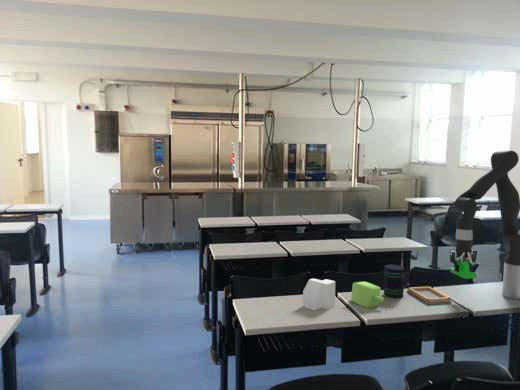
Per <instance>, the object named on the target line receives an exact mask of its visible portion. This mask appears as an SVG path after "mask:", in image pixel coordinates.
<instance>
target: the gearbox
mask: <svg viewBox="0 0 520 390" xmlns="http://www.w3.org/2000/svg"><path fill="white" fill-rule="evenodd" d="M381 289H382V288H381V287H380V286H378V285H375V284H373V283H372V282H371V283H370V282H367V281H358V282H357V281H356V282H353V283H352V289H351V301H352V302H353V303H355V304H357V305H359V306H362V307H364V308H367V309H369V308H373V307H376V306H377V307H378V306H380V302H381V303H384V298H385V296H384V297H383V296H381Z"/></svg>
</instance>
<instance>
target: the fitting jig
mask: <svg viewBox="0 0 520 390" xmlns="http://www.w3.org/2000/svg"><path fill="white" fill-rule="evenodd" d="M406 292H407V293H408V294H411V295H412V296H413V297H415V298H416V299H419V300H421V302H423V303H425V304H426V305H428V306H434V305H436V306H437V305H449V304H451V305H452V301H451V297H450V296H447V295H446V294H444V293H443V292H440V291H438V290H436V289H435V288H433V287H431V286H429V285H428V286H416V287H413V286H412V287H408V288H407V290H406Z"/></svg>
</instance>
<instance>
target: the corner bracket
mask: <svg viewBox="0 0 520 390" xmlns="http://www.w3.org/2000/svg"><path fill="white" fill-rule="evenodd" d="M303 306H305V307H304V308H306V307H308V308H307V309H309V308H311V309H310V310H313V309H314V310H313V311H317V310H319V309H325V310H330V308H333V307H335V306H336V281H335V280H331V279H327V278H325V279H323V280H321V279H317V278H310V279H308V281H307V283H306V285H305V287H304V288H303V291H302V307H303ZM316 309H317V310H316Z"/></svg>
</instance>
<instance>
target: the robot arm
mask: <svg viewBox="0 0 520 390" xmlns="http://www.w3.org/2000/svg"><path fill="white" fill-rule="evenodd" d="M519 159H520V158H519V154H518V153H517V152H516V151H514V150H496V151H494V152H493V153H492V154H491V157H490V165H491V170H490V171H488V172H487V173H485V174H483V175H482V176H480V177H479V178H478V179H477V180H476V181H475V182H474V183H473V184H472V185H471V186H470V187H469V189H468V190H466V191H464V192H462V194H460V195H459V196H458V197H457V198H456V199H455V200H454V209H455V210H456V211H458V212H460V213H462V216H459V217H457V219H456V231H455V241H454V242H455V244H454V245H455V250H450V251H449V261H450V263H452V264H453V268H454V270H455V271H456V272H459V265H458V264H459V262H460V261H463V259H465V261H467V262H468V264H469V271H471V272H472V269H473V268H472V266H473V265H472V264H473V263H476V262H477V261H476V260H477V256H478V250H476V249H473V236H474V233H473V223H474V222H473V221H474V219H475V216H476V213H477V210H478V203H477V202H476V201H477V200H482V198H483V197H484V196H485V195H486V194H487V192H489V190H490V189H491V188H492V187H493V186H494V185H496V186H495V188H496V190H497V191H496V192H497V199H498V206H499V210H500V211H499V212H500V218H501V227H502V230H501V231H502V242H503V243H502V244H503V245H504V246H505V247H506V248H508V249H509V252H508V255H506V256H504V261H503V278H502V279H503V280H502V293H501V295H502V296H503V297H505V298H508V299H514V300H515V299H516V300H520V230H519V227H518V217H519V214H520V194H519V191H518V190H517V188H516V186H515V185H514V184H513V182H512V181H511V179H510V177H509V172H510V171H512V170H513V169H514V168H515V167H516V166H517V164H518V163H519Z"/></svg>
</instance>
